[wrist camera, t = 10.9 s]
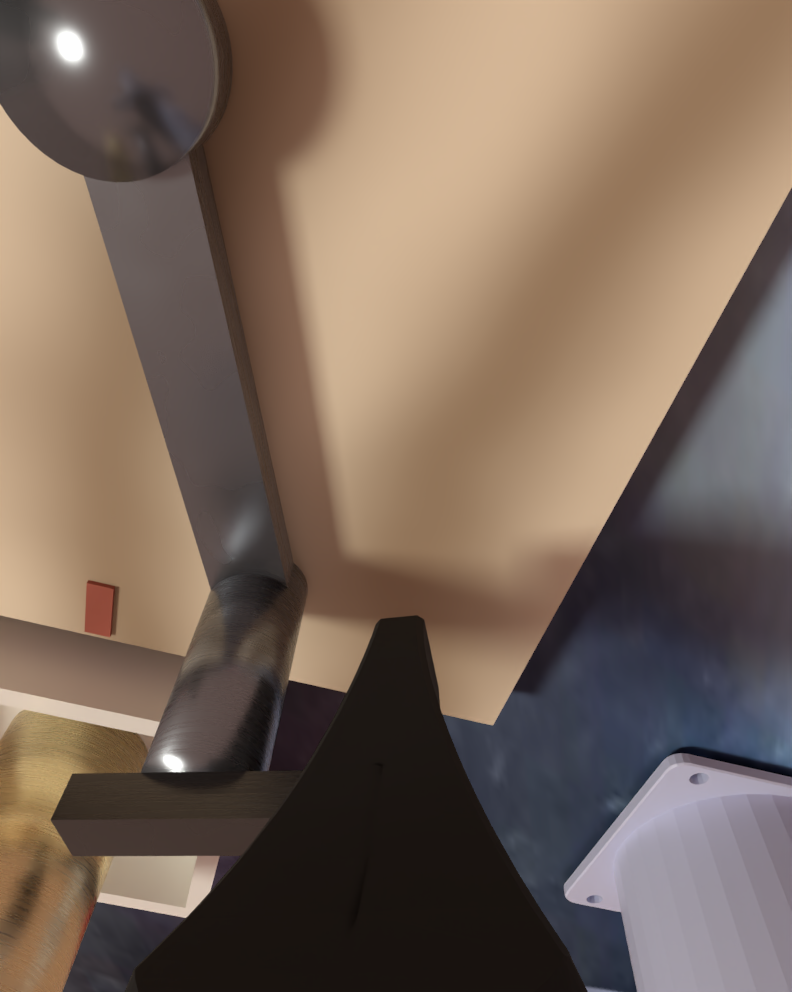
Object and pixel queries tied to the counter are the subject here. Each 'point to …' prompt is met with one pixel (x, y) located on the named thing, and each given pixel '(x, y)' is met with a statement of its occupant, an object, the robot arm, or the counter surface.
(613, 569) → the counter surface
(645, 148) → the crank board
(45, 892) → the brass cylinder
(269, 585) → the crank
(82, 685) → the tray
